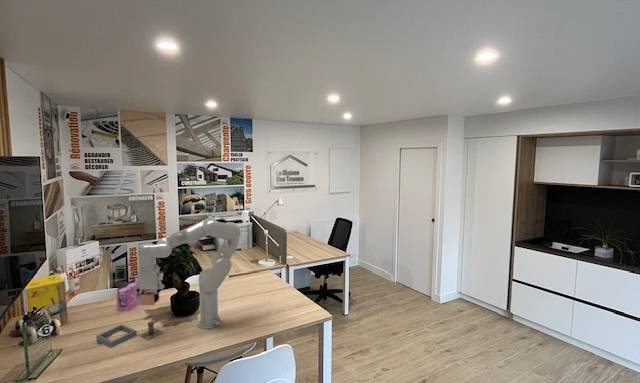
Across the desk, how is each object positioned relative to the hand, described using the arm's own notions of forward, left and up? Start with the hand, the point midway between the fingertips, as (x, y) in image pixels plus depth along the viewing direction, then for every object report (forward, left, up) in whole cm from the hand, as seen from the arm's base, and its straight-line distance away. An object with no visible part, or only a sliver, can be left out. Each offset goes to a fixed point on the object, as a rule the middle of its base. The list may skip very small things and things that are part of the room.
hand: (149, 300), depth 174 cm
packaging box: (+62, +22, -20) cm, 68 cm away
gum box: (+46, -19, -20) cm, 54 cm away
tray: (+12, +11, -20) cm, 25 cm away
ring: (0, 0, -1) cm, 1 cm away
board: (0, 0, -20) cm, 20 cm away
